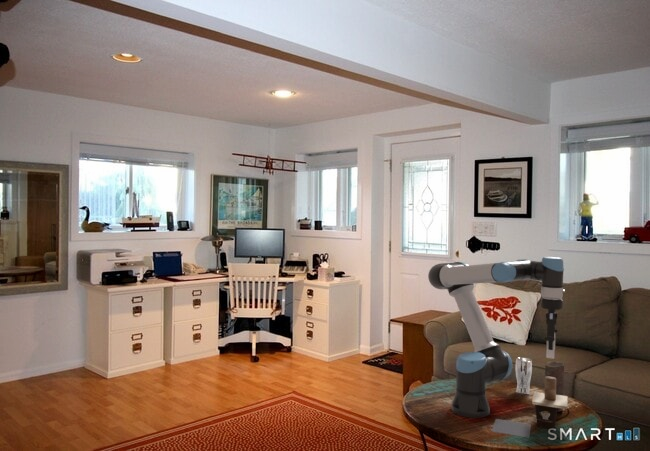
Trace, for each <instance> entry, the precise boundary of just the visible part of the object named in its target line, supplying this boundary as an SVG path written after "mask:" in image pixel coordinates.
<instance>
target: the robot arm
mask: <svg viewBox="0 0 650 451" xmlns="http://www.w3.org/2000/svg"><path fill="white" fill-rule="evenodd" d="M564 271H565V268H564V260H563V258H561V257H557V256H544V257H542V258H541V261H539V260H530V259H516V260H515V261H500V262H493V263H480V264H468V263H466V262H462V261H461V262H460V261H454V262H446V263H445V262H444V263H443V262H441V263H437V264H434V265H433V266H431V268H430V269H429V271H428V281H429V283H430V285H431V286H432V287H434V288H435V289H438V290H447V291H448V295H449V296H450V297H453V298H454V300H455V302H456V305H457V307H458V310H459V313H460V315H461V318H462V320H463V323H464V324H465V328H466V331H467V332H468V335H469V337H470V340H471V342H472V344H473V347H474V350H473V351H471V352H470V351H467V352H463V353H461V354H459V355H458V356H457V358H456V364H455V369H456V370H455V372H456V373H455V377H456V378H455V379H456V380H455V383H456V386H455V387H456V388H455V394H454V397H453V399H452V403H451V412H452V413H454V414H455V415H457V416H460V417H465V418H470V419H471V418H472V419H474V418H475V419H479V418H480V419H481V418H485V417H487V416H490V413H491V410H490V409H491V408H490V405H489V400H488V398H487V395H486V391H487V390H486V388H487V387H486V386H487V384H490V383H494V382H497V381H498V382H499V381H502V380H504V379H506V378H508V377H509V376H510V375H511V373H512V371H513V359H512V358H511V356H510V354H509V353H508V352H506V351H504V350H502V348H501V346H500V344H498V343H497V342H495V341H494V338H493V336H492V334H491V331H490V329H489V326H488V324H487V322H486V320H485V317H484V315H483V313H482V310H481V308H480V305H479V303H478V301H477V298H476V296H475V294H474V288H475V284H489V283H490V284H492V283H502V284H503V283H504V284H506V283H510V282H518V281H529V280H531V281H539V282H541V289H540V290H541V291H540V292H541V293H540V296H541V299H540V300H541V301H540V306H541V308H542V309H545V310H548V311H546V312H545V319H546V320H545V321H546V325H547V328H546V330H547V331H546V337H544V341H546V349H545V350H546V354H545V356H546V359H553V360H554V359H555V351H556V333H558V330H557V329H556V326H557V320H558V312H556V310H557V311H559V310H562V309H563V308H564V302H563V301H564V300H563V296H564V295H563V294H564V293H566V291H565V289H564V288H563V287H564Z"/></svg>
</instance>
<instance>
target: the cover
mask: <svg viewBox="0 0 650 451" xmlns="http://www.w3.org/2000/svg"><path fill="white" fill-rule="evenodd" d="M544 392H545V393H544ZM544 392H538V391H534V392H533V395H532V396H533V397H532V403H531V404H532V405H534V406H535V405H541V406H548V407H555V408H561V409H563V410H567V408H568V395H564V396H562V395H556V378H555V377H550V376H547V377H545V376H544Z"/></svg>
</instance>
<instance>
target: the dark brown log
mask: <svg viewBox="0 0 650 451" xmlns="http://www.w3.org/2000/svg"><path fill="white" fill-rule="evenodd" d="M544 370H545V372H544V378H545V377H547V376H550V377H555V378H556V395H562V396H565V395H564V388H565V386H564V384H565V363H564V362H563V361H562V362H561V361H546V362H545V369H544ZM543 393H545V391H544V392H543ZM561 411H564V409H561V408H560V409H559V410H558V411H557V412H561Z"/></svg>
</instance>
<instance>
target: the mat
mask: <svg viewBox="0 0 650 451" xmlns="http://www.w3.org/2000/svg"><path fill="white" fill-rule="evenodd" d="M531 427H532V424H531V423H523V422H518V421H511V420H505V419H499V418H495V420H494V422H493V426H492V428H491V433H492V432H493V433H497V434H505V435H509V436H510V435H511V436H515V437H521V438H522V437H523V438H526V439H529V438H530V434H531Z"/></svg>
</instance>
